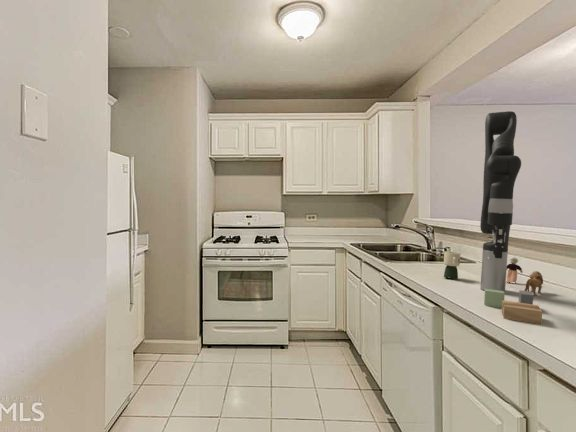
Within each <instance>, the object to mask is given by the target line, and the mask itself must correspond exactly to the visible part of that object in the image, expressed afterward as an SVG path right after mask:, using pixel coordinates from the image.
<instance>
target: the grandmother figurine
mask: <svg viewBox="0 0 576 432" xmlns="http://www.w3.org/2000/svg"><path fill="white" fill-rule="evenodd" d="M509 261H510V263H507V275H506V282H511V283H512V282H515V283H517V279H518V271H519V273H521V274H522V273H523V272H524V271H523V268H522V267H521V266H520V265H518V264H517V263H518V262H519V259H518V258H517V257H516V256H511V257H510V258H509Z"/></svg>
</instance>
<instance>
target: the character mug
mask: <svg viewBox="0 0 576 432" xmlns="http://www.w3.org/2000/svg"><path fill="white" fill-rule="evenodd" d="M443 253H444V255H443V265H445V269H444V273H443V277H444V278H447V279H450V280H453V279H455V280H458V279H459V273H458V267H460V265H461V262H460V261H461V252H458V251H457V252H456V251H448V250H447V251H446V250H445V251H444V252H443Z"/></svg>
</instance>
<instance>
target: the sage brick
mask: <svg viewBox="0 0 576 432" xmlns="http://www.w3.org/2000/svg"><path fill="white" fill-rule="evenodd" d="M505 294H506V293H505V292H504V291H499V290H491V289H485V290H484V297H483V298H484V299H483V306H484V305H486V306H485V307H491V306H492V307H493V308H498V309H502V300H505ZM492 307H491V308H492Z"/></svg>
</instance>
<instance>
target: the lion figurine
mask: <svg viewBox="0 0 576 432" xmlns="http://www.w3.org/2000/svg"><path fill="white" fill-rule="evenodd" d="M528 277H529V279H527V281H526V283H525V287H524V290H523V291H528V292H531V293H532V292H533V293H532V294H533V296H535V297H537V296H538V294H539V293H541V294H542V287H543V286H542V285H544V279H543V277H544V276H543V275H542V273H541V272H539V271H537V270H533V271H532V273H531V274H529V275H528ZM530 287H531V288H530ZM530 289H531V290H530ZM536 289H538V290H537V293H536Z"/></svg>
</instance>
